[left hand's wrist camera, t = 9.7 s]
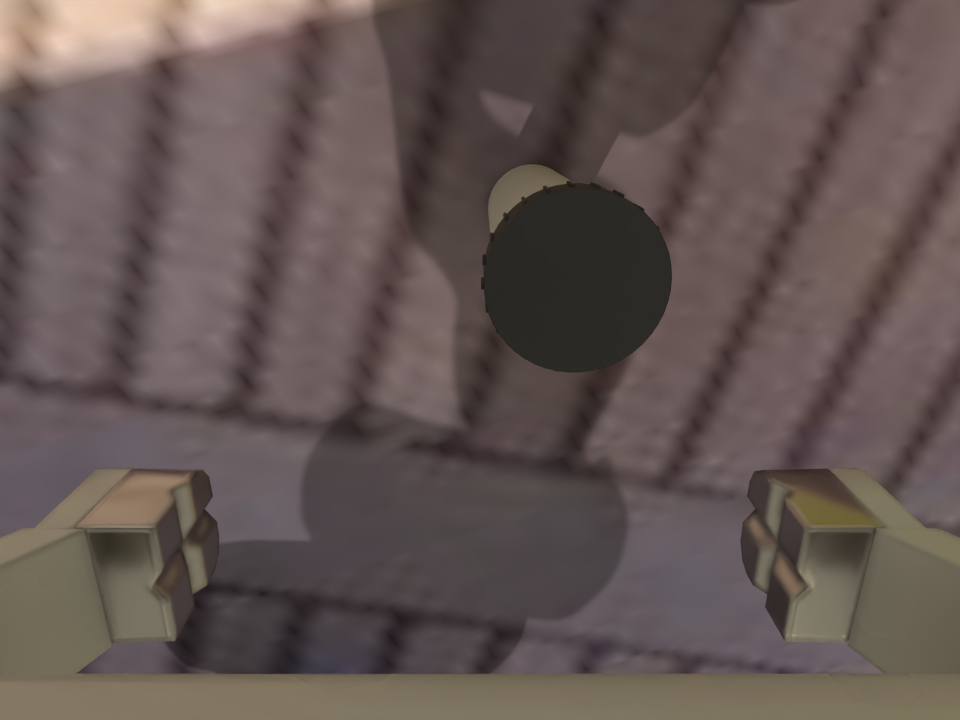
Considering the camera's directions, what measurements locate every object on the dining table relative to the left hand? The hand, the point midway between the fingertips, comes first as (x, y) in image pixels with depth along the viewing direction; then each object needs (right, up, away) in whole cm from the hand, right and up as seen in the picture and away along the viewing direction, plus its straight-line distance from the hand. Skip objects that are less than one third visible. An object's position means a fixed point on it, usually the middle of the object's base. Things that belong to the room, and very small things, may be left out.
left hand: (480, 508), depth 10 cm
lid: (+3, +5, +10) cm, 12 cm away
